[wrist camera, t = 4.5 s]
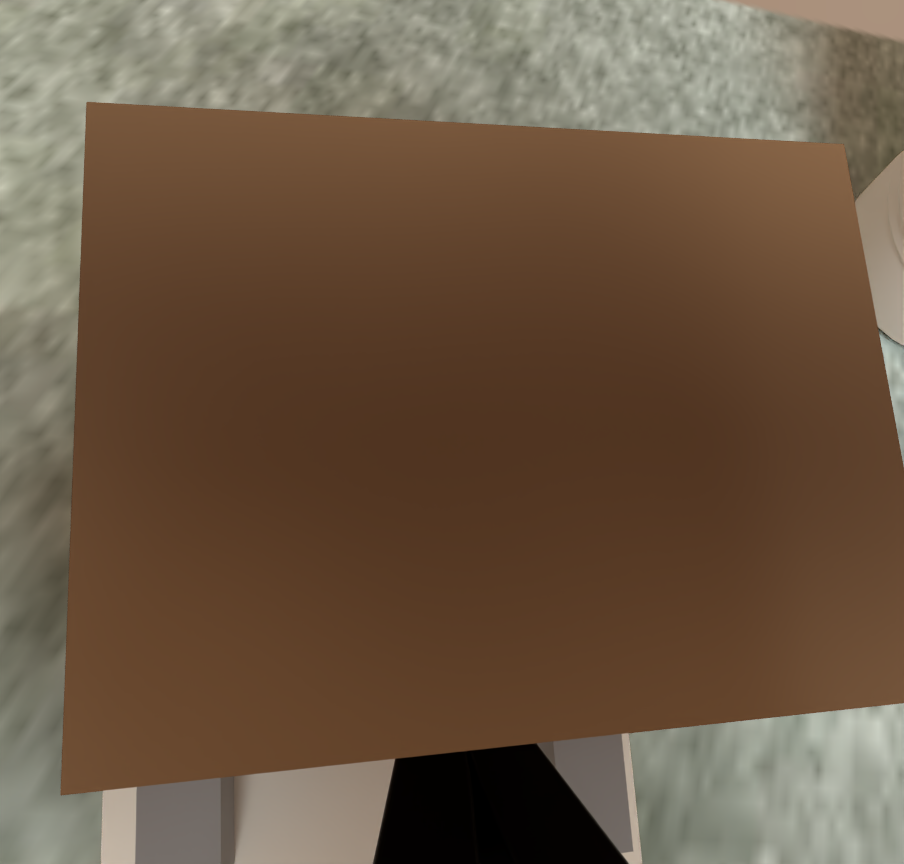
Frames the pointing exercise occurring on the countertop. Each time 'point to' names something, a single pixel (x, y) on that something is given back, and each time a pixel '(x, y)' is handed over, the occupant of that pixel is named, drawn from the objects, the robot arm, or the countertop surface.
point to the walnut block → (465, 442)
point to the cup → (885, 245)
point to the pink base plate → (327, 811)
